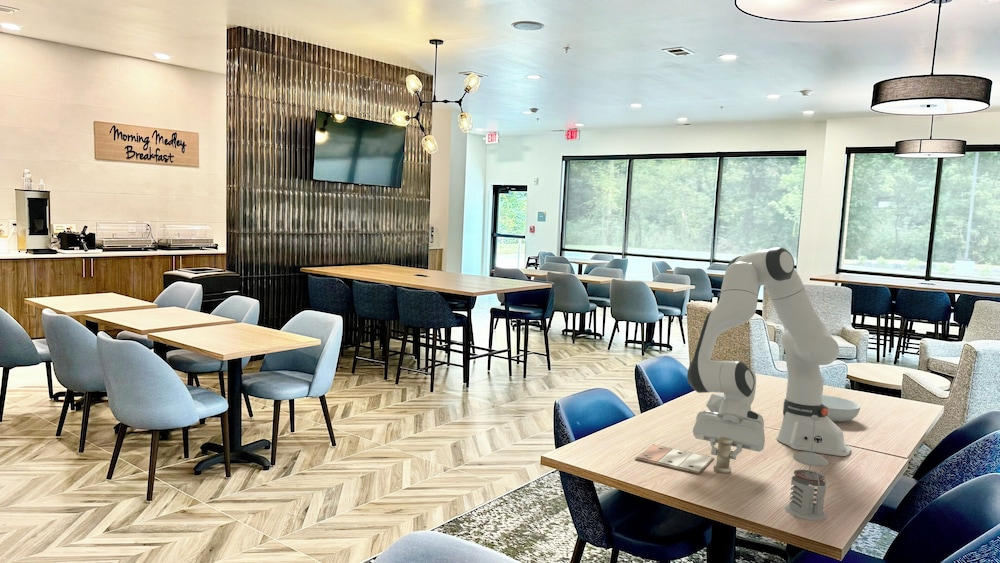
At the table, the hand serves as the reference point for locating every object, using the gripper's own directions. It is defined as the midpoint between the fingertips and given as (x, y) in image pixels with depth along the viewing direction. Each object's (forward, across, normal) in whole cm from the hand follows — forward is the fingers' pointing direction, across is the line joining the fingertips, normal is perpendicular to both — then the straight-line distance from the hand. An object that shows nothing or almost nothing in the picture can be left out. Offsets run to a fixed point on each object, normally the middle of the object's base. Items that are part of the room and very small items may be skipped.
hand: (723, 456), depth 199 cm
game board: (+3, -14, +4) cm, 15 cm away
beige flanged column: (+3, 0, +4) cm, 4 cm away
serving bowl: (-60, +20, +67) cm, 92 cm away
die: (-42, -16, +48) cm, 66 cm away
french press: (+15, +25, -9) cm, 31 cm away
